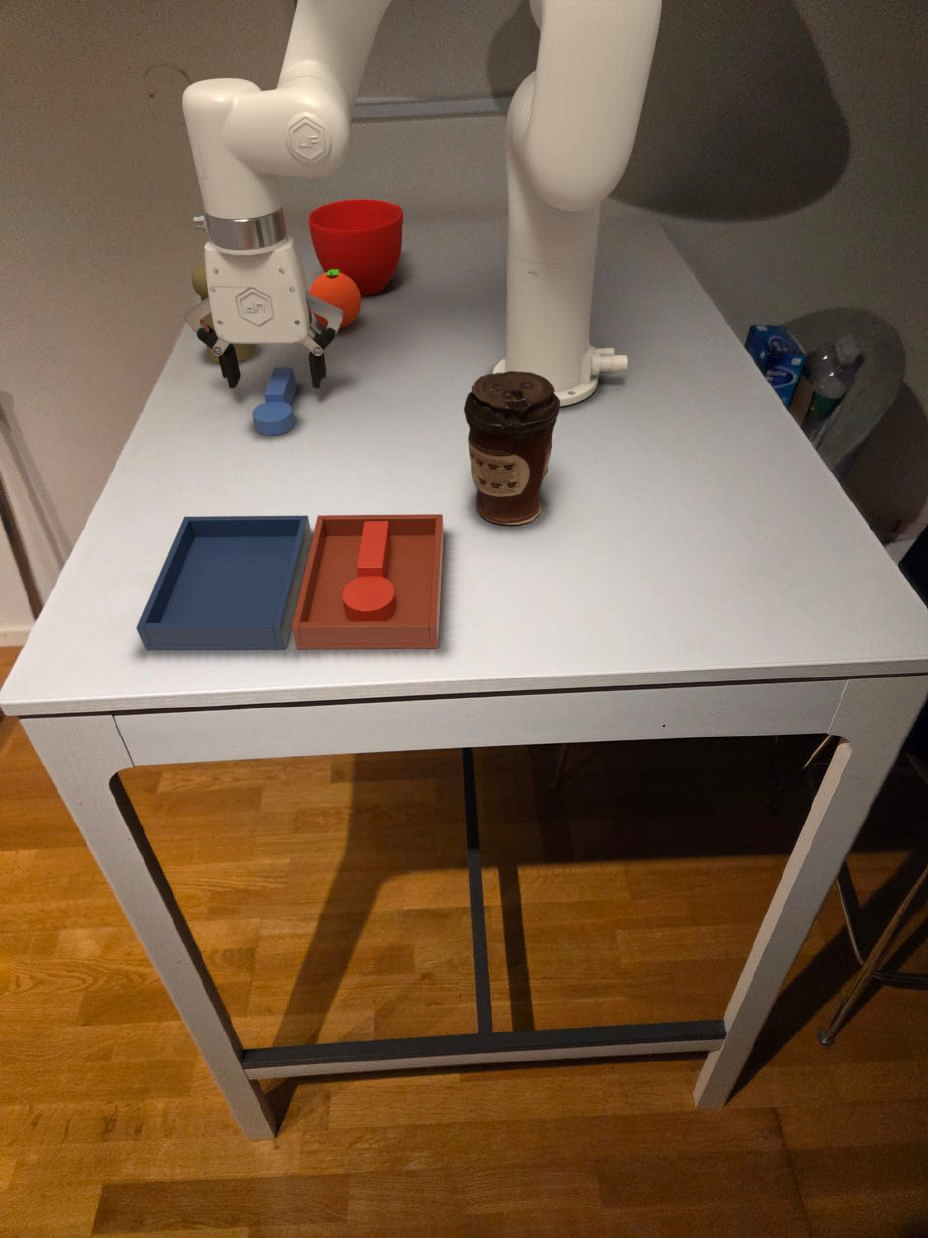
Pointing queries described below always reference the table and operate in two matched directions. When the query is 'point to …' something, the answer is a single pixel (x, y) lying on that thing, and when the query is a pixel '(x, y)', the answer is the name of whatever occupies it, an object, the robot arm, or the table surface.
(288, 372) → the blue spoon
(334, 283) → the clementine
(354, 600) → the red spoon
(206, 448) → the table surface
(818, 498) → the table surface
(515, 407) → the coffee cup
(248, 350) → the olive brown pawn
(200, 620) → the blue tray
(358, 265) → the ceramic cup
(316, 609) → the red tray
